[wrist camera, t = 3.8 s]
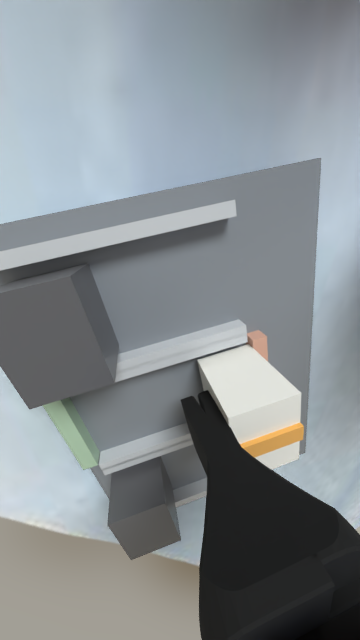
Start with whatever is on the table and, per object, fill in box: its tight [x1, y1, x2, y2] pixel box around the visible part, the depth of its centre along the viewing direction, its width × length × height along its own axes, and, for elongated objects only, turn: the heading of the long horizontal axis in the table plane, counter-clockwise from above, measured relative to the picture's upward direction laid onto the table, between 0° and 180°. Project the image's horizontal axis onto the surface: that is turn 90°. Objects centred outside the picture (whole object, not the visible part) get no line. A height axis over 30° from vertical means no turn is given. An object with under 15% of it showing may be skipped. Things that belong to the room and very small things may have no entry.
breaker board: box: [0, 158, 321, 560], centre depth 12 cm, size 15×20×4 cm
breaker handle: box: [197, 344, 304, 470], centre depth 11 cm, size 3×4×4 cm
